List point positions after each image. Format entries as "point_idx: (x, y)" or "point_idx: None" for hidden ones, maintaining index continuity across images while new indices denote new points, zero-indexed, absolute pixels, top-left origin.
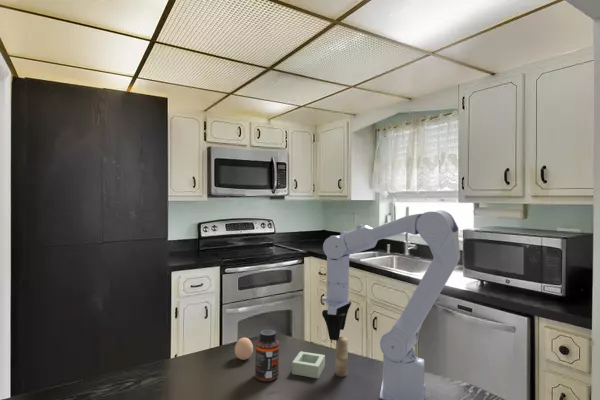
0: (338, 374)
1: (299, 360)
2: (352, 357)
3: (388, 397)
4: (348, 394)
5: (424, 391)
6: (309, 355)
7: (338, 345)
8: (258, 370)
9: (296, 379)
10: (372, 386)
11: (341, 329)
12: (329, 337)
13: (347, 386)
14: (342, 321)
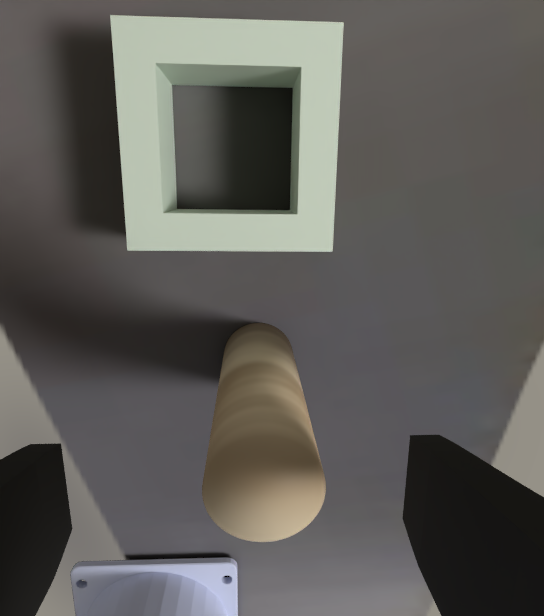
0: (225, 348)
1: (189, 66)
2: (486, 379)
3: (84, 599)
4: (55, 428)
5: None
6: (298, 127)
7: (212, 440)
8: None
9: (79, 103)
10: (182, 517)
11: (405, 500)
12: (8, 456)
13: (131, 410)
14: (452, 599)
